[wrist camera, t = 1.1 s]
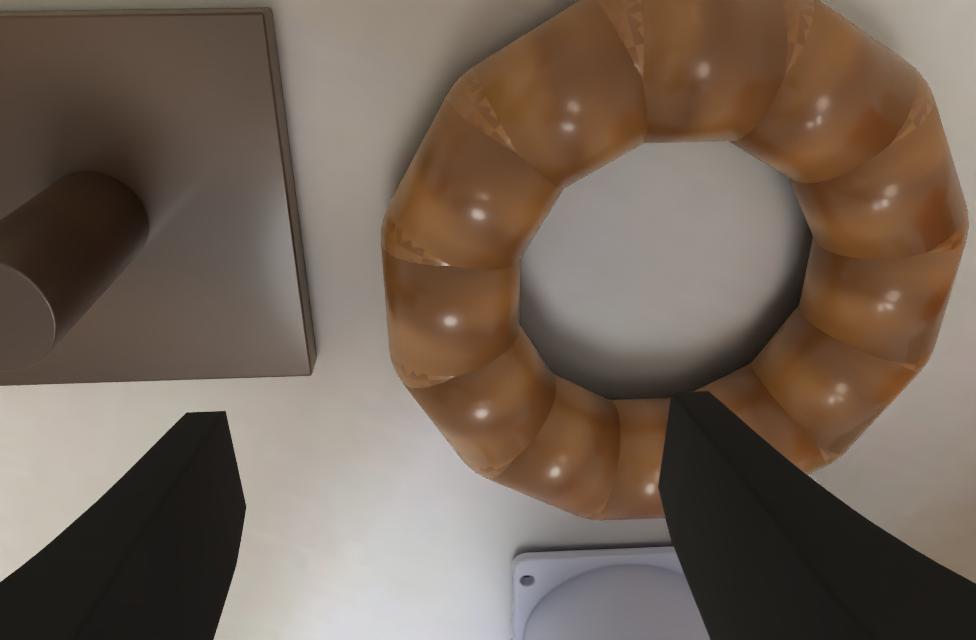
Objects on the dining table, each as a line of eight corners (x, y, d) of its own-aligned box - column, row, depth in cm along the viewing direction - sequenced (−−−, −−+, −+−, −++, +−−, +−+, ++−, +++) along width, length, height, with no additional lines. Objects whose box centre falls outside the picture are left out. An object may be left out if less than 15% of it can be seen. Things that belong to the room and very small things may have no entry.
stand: (317, 359, 24) (276, 502, 18) (-20, 369, 23) (-172, 519, 18) (272, 7, 19) (197, 48, 13) (-149, 13, 19) (-413, 58, 13)
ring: (852, 459, 27) (907, 533, 23) (404, 476, 26) (399, 554, 23) (979, -29, 19) (1083, -17, 16) (368, -21, 19) (353, -7, 16)
